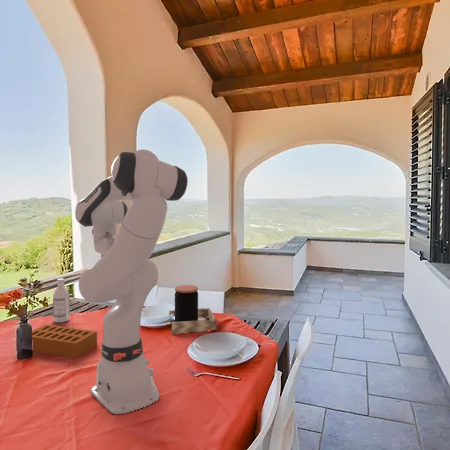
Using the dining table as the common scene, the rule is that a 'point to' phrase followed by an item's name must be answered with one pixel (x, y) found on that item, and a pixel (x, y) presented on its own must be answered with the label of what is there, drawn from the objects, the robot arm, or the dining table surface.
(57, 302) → the bath foam
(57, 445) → the dining table surface
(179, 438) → the dining table surface
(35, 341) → the brick
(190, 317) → the coffee jar
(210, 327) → the tray
